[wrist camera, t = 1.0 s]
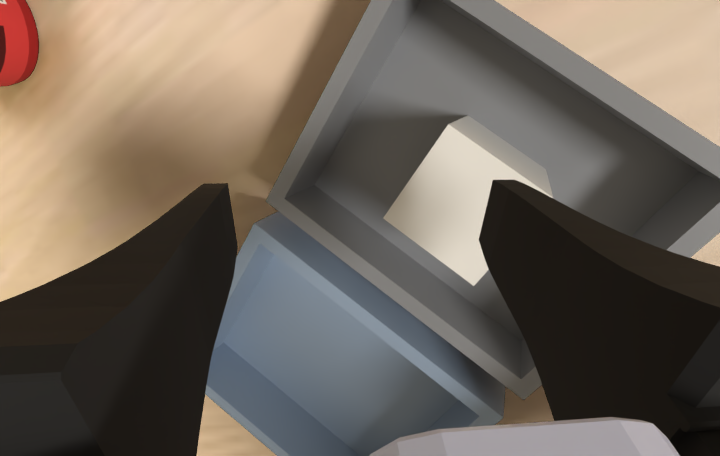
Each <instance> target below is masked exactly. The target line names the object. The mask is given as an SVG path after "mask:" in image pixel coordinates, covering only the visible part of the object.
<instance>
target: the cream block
mask: <svg viewBox="0 0 720 456" xmlns="http://www.w3.org/2000/svg"><path fill="white" fill-rule="evenodd" d="M493 180H517V181H519V182H522V183H524V184H526V185H528V186H530V187H532V188H534V189H536V190H538V191H540V192H542V193H544V194H546V195H548V196H549V197H551V198H553V195H552V191H551V187H550V183H549V179H548V175H547V171H546V169H545V168H543V167H542V166H540V165H539V164H538V163H536V162H535V161H533V160H532V159H530V158H529V157H527V156H526V155H525V154H523V153H522V152H520V151H519V150H517V149H516V148H514V147H513V146H512V145H510V144H509V143H507V142H506V141H504V140H503V139H501V138H500V137H499V136H497V135H496V134H494V133H493V132H491V131H490V130H488V129H487V128H486V127H484V126H483V125H481V124H480V123H478V122H477V121H475V120H474V119H473V118H471V117H470V116H466V117H463V118H461V119H459V120H457V121H454V122H452V123H450V124H448V125H447V127H446V128H445V130H444V131H443V133H442V134H441V136H440V137H439V138H438V140H437V141H436V143H435V144H434V146H433V147H432V148H431V150H430V151H429V153H428V154H427V156H426V157H425V159H424V160H423V161H422V163H421V164H420V166H419V167H418V169H417V170H416V172H415V173H414V174H413V176H412V177H411V179H410V180H409V182H408V183H407V184H406V186H405V187H404V189H403V190H402V192H401V193H400V195H399V196H398V197H397V199H396V200H395V202H394V203H393V205H392V206H391V208H390V209H389V210H388V212H387V213H386V215H385V216H384V218H383V219H385V220H386V221H387V222H389V223H390V224H391V225H393V226H394V227H395V228H397V229H398V230H399V231H401V232H402V233H403V234H405V235H406V236H407V237H409V238H410V239H411V240H413V241H414V242H415V243H417V244H418V245H419V246H421V247H422V248H423V249H425V250H426V251H428V252H429V253H430V254H432V255H433V256H434V257H436V258H437V259H438V260H440V261H441V262H442V263H444V264H445V265H446V266H448V267H449V268H450V269H452V270H453V271H454V272H456V273H457V274H458V275H460V276H461V277H462V278H464V279H465V280H466V281H468V282H469V283H470V284H472V285H473V286H474V285H475V284H476V283H477V282H478V281H479V280H480V279H481V278H482V276H483V275H484V274H485V273H486V272H487V271H488V270H489V269H488V266H487V264H486V261H485V258H484V255H483V252H482V249H481V245H480V242H479V236H480V232H481V228H482V224H483V219H484V215H485V211H486V207H487V203H488V198H489V194H490V190H491V186H492V181H493Z"/></svg>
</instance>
